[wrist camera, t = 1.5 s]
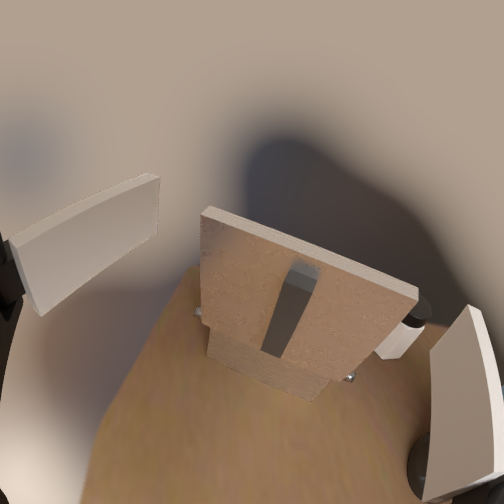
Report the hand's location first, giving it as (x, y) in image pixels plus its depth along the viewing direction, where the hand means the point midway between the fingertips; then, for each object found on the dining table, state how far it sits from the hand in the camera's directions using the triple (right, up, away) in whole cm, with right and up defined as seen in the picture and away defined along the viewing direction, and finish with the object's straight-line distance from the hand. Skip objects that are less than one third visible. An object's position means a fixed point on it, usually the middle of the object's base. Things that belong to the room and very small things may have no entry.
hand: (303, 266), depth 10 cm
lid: (+2, -5, +18) cm, 19 cm away
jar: (+25, -18, +40) cm, 51 cm away
